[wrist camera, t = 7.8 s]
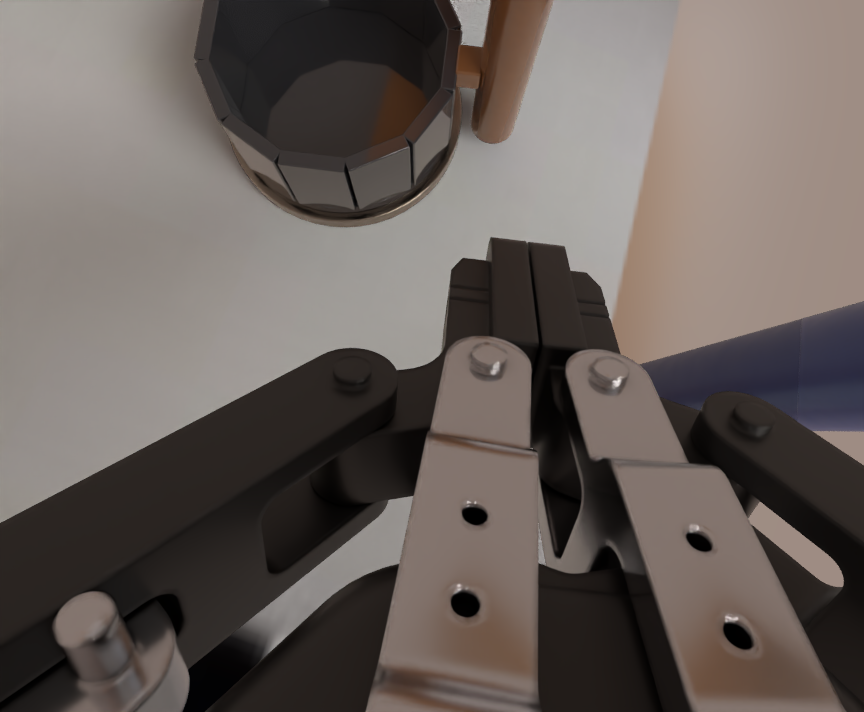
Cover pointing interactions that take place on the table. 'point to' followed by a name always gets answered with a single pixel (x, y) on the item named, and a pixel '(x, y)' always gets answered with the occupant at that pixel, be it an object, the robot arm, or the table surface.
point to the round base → (372, 214)
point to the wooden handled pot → (359, 88)
